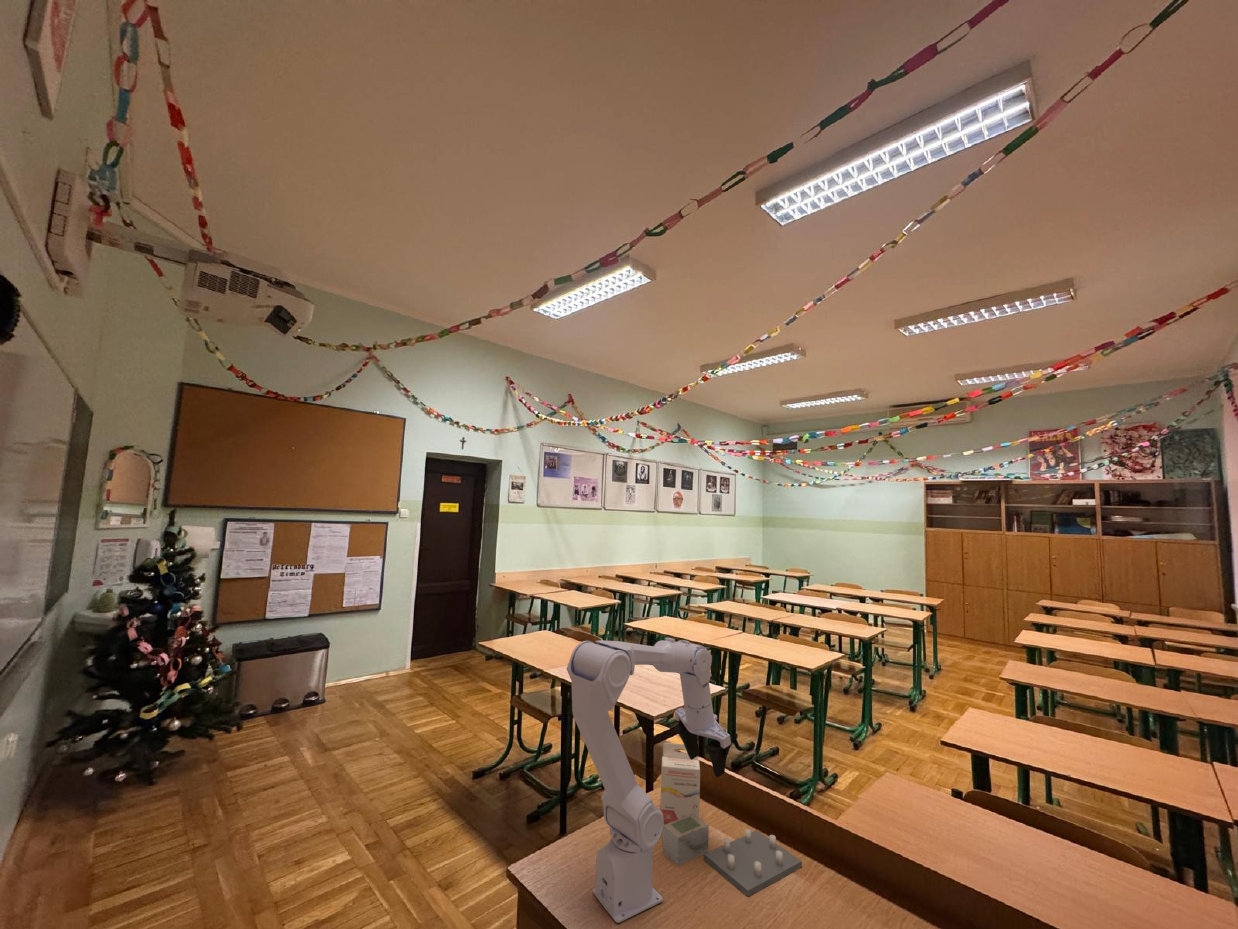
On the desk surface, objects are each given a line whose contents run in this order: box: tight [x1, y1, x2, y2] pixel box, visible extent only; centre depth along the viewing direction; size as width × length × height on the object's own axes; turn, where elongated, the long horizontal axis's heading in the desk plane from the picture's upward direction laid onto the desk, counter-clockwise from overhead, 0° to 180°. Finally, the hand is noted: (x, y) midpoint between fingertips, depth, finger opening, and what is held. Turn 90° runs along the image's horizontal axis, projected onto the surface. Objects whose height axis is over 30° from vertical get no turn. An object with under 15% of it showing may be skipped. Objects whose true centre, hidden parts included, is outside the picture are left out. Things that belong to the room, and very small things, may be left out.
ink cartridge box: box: [659, 742, 701, 825], centre depth 106 cm, size 9×5×15 cm, turn 84°
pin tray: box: [703, 828, 803, 898], centre depth 92 cm, size 15×11×3 cm
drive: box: [662, 814, 710, 867], centre depth 95 cm, size 8×4×5 cm, turn 124°
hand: (706, 765), depth 99 cm, fingers open, 7 cm apart
